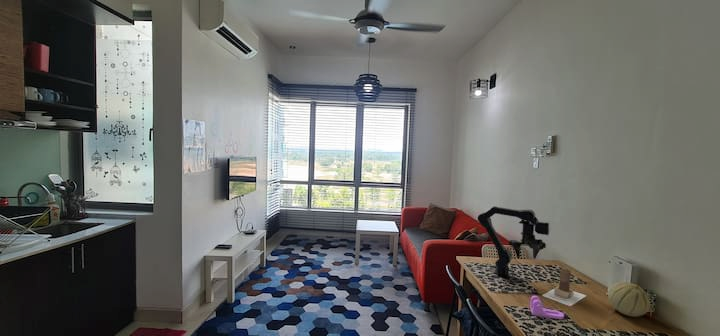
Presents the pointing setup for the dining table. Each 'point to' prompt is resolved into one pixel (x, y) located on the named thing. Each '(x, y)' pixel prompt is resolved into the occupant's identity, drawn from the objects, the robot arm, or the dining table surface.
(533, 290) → the dining table surface
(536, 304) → the bracket
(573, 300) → the board
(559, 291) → the brown piece
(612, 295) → the cantaloupe
